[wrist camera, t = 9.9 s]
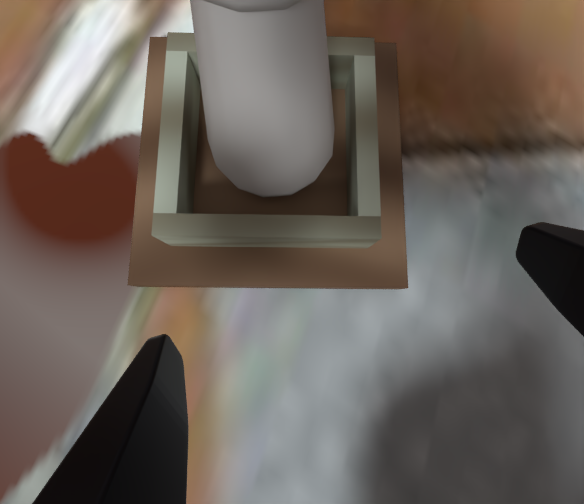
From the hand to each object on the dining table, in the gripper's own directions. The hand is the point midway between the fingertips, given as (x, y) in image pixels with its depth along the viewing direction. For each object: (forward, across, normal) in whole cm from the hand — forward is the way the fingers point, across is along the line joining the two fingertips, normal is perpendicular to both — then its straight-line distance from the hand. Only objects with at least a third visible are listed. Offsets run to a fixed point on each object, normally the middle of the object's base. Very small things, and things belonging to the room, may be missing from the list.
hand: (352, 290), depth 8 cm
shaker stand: (+12, 0, +1) cm, 13 cm away
